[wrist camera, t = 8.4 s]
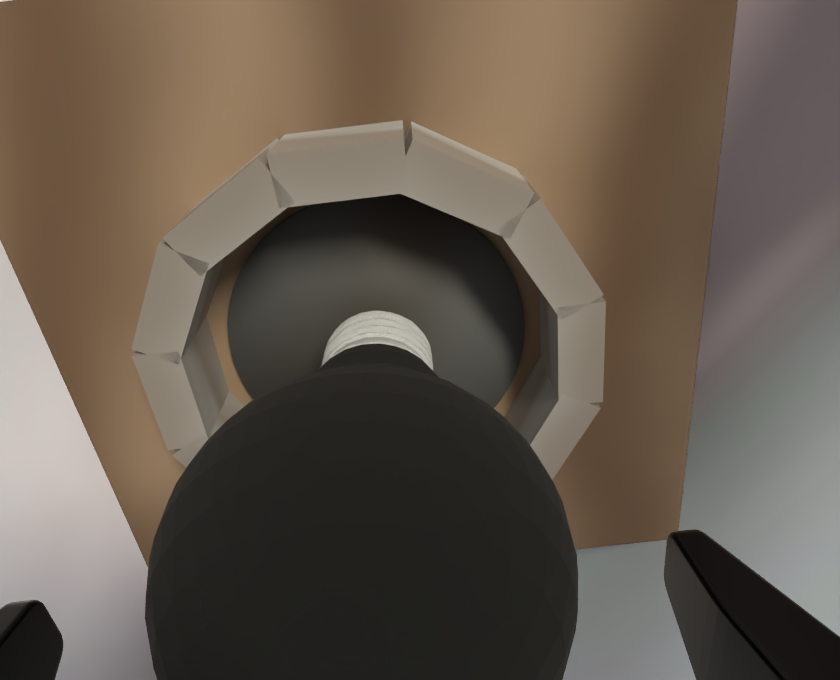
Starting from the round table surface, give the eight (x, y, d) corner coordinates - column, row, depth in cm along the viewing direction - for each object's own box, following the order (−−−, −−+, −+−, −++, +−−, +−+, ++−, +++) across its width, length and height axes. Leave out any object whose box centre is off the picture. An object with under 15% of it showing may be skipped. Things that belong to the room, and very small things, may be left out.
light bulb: (365, 472, 17) (333, 965, 8) (204, 323, 15) (-74, 784, 6) (545, 354, 16) (741, 807, 7) (397, 168, 13) (400, 483, 4)
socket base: (712, -86, 13) (811, -115, 10) (659, 503, 20) (706, 592, 17) (-51, 14, 13) (-188, 16, 10) (175, 555, 21) (135, 650, 18)
